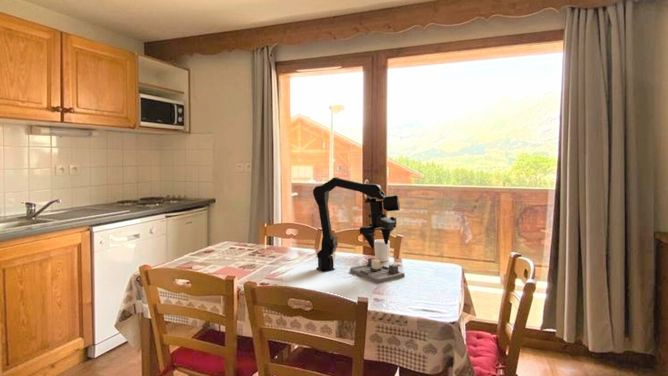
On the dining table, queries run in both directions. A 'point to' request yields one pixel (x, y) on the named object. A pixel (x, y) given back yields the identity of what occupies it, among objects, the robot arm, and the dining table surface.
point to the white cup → (382, 250)
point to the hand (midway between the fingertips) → (379, 246)
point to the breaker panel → (380, 276)
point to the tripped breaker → (375, 265)
